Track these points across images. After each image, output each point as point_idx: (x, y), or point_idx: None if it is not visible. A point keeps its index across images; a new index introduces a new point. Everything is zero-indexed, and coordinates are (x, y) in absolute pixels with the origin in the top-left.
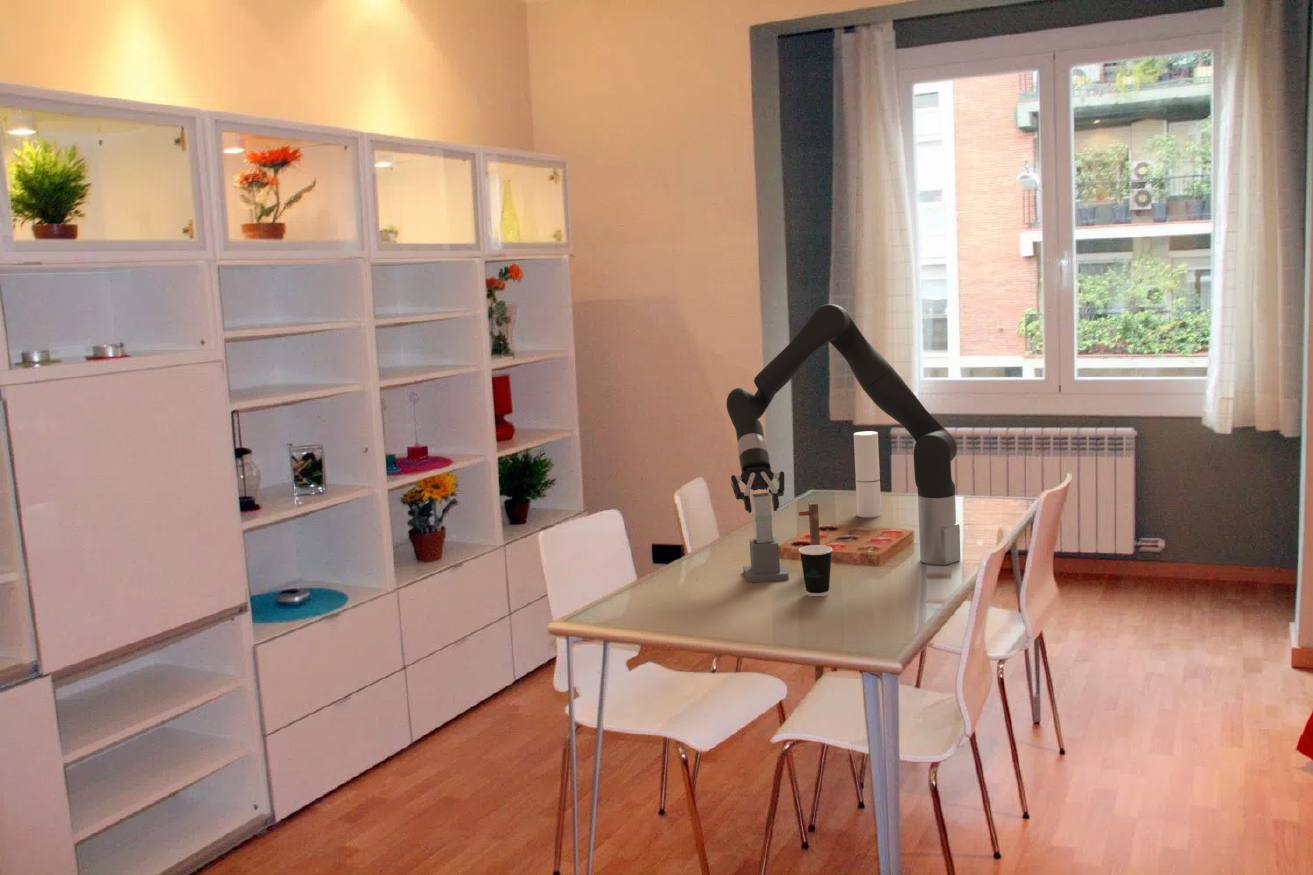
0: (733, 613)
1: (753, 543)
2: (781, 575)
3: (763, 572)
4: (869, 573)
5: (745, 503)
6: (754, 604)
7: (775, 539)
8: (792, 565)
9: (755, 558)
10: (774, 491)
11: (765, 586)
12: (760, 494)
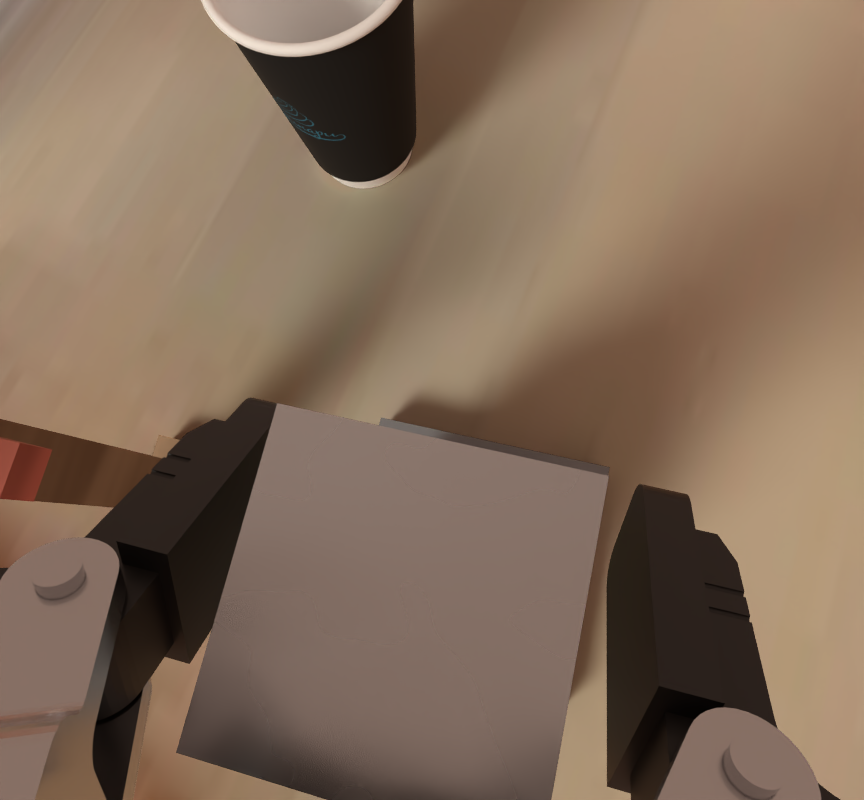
0: (819, 48)
1: None
2: (419, 427)
3: None
4: (11, 331)
5: (737, 610)
6: (688, 126)
7: None
8: None
9: None
10: (78, 570)
11: (541, 367)
12: (388, 672)
